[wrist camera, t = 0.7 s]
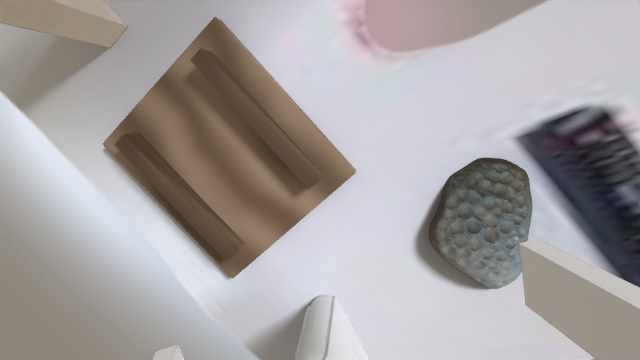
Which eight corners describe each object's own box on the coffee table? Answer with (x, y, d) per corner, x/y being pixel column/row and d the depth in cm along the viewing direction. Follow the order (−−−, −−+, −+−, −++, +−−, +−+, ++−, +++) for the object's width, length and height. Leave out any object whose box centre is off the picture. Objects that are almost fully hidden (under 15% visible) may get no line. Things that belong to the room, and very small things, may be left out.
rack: (221, 20, 35) (203, 9, 31) (355, 170, 36) (355, 177, 32) (112, 142, 39) (84, 146, 35) (237, 272, 40) (224, 290, 36)
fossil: (414, 260, 38) (420, 277, 34) (458, 146, 35) (470, 151, 31) (505, 288, 37) (521, 309, 34) (558, 175, 34) (582, 185, 31)
